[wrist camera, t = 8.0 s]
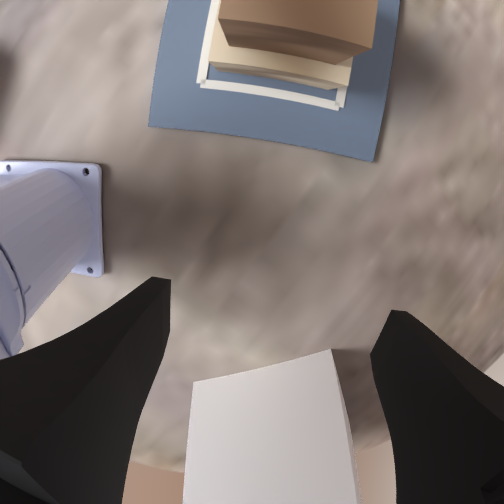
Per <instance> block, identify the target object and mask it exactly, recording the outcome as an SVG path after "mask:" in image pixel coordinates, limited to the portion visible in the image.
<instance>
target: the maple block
mask: <svg viewBox="0 0 504 504" xmlns="http://www.w3.org/2000/svg"><path fill="white" fill-rule="evenodd" d="M220 4H221V0H219V5H218V10H217V15H216V20H215V25H214V30H213V35H212V40H211V46H210V51H209V57H208V62H209V63H210V64H211V65H212V66H213V67H214V68H215V69H216V70H217V71H221V72H230V73H238V74H245V75H252V76H259V77H265V78H271V79H277V80H283V81H288V82H293V83H298V84H303V85H308V86H312V87H317V88H321V89H325V90H330V89H335V88H340V87H345V86H348V84H349V79H350V73H351V67H352V61H353V57H351V58H349V59H347V60H345V61H343V62H340V63H338V64H336V65H333V64H329V63H325V62H320V61H316V60H311V59H307V58H302V57H297V56H292V55H287V54H281V53H275V52H269V51H263V50H256V49H249V48H241V47H232V46H229V45H228V43H227V40H226V38H225V35H224V33H223V30H222V28H221V25H220V23H219V20H218V14H219V9H220Z"/></svg>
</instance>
